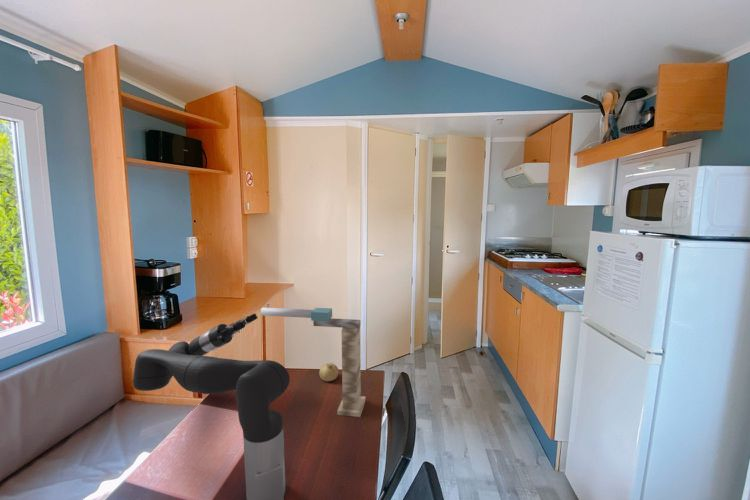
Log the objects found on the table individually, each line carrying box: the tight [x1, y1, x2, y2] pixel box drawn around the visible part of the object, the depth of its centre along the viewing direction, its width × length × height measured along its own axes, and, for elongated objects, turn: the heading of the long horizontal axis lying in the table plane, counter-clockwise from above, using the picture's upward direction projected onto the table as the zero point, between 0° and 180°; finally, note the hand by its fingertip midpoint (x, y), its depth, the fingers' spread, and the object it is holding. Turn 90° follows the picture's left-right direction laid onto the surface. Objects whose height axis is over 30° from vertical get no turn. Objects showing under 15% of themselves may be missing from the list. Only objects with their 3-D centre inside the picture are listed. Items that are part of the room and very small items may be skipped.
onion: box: [318, 362, 340, 382], centre depth 139 cm, size 8×8×7 cm
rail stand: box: [312, 317, 366, 418], centre depth 118 cm, size 17×10×32 cm, turn 81°
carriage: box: [260, 307, 333, 322], centre depth 118 cm, size 25×5×3 cm, turn 81°
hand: (250, 319), depth 121 cm, fingers open, 8 cm apart
